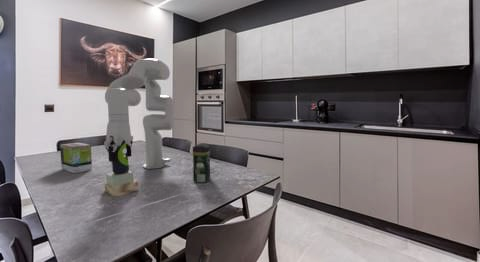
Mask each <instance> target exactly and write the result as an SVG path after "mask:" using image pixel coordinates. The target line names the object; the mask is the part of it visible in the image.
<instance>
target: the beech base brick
mask: <svg viewBox="0 0 480 262" xmlns="http://www.w3.org/2000/svg"><path fill="white" fill-rule="evenodd" d="M103 185H104V190H105V192H106V193H107V194H109V195H110V196H112V197H113V198H116V197H119V196H123V195H127V194H130V193H133V192H136V191H139V182H138V180H137V179H135V178H134V181H132V182H129V183H126V184H122V185H119V186H116V187H113V186H112V185H110V184H109V183H107V181H106V182H104V183H103Z"/></svg>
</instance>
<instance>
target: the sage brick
mask: <svg viewBox="0 0 480 262" xmlns="http://www.w3.org/2000/svg"><path fill="white" fill-rule="evenodd" d="M105 176H106V177H105V178H106V182H107V183H109V184H110V185H112V186H113V187H116V186H119V185H122V184H126V183H129V182H132V181H134V179H135V178H134V172H133V171H131V170H130V169H129V170H128V172H127V173H124V174H114V173H113V171H110V172H107V173H105Z"/></svg>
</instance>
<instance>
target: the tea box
mask: <svg viewBox="0 0 480 262" xmlns="http://www.w3.org/2000/svg"><path fill="white" fill-rule="evenodd" d="M59 148H60V162H61V163H60V165H61V170H63V171H66V172H69V173H72V174H76V173H83V172H87V171H91V170H93V163H92V162H93V161H92V160H93V159H92V145H91V144H89V143H84V142H72V143H61V144H60V145H59Z"/></svg>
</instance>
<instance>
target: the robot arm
mask: <svg viewBox="0 0 480 262" xmlns="http://www.w3.org/2000/svg"><path fill="white" fill-rule="evenodd" d="M170 71H171V70H170V67H169V66H168V65H167V64H166V63H164V62H163V61H162V60H159V59H156V58H140V59H136V61H135V62H134V63H133V65H132V67H131V68H130V70H129V71H128V73H126V74H124V75H122V76H121V77H118V78H116V79H115V80H113V81H112V82H111V83H110V84H109V86H108V88H106V91H105V93H104V100H105V102H106V104H107V111H108V115H107V116H108V122H107V125H106V136H105V141H104V142H103V145H104V148H105V150H106V152H108V161H109V162H111V163H112V162H116V161H117V152H115V151H116V149H117V147H118V146H121V144H122V141H123V140H125V142H126V148H127V156H128V158H129V157H132V147H133V143H134V142H133V140H134V136H133V135H132V134H131V125H130V115H129V107H136V106H138V105H140V103H141V100H142V97H141V96H142V95H141V93H140V92H139V90H136V89H139V88H141V87H143V86H145V108H146V110H147V111H148V112H151V113H149V114H146V115H145V116H143V118H142V126H143V130H144V141H145V143H144V147H145V163H144V164H143V165H142V167H143V168H144V169H145V170H146V169H147V170H154V169H156V170H157V169H161V168H164V167H165V166H166V163H170V162H171V158H164V157H163V137H162V135H161V133H160V132H159V131H171V130H173V129H174V125H175V109H174V108H175V107H174V106H175V105H174V99H173V98H172V96H168V95H162V88H161V86H160V83H158V81H166V80H167V81H168V79H169V78H170V75H171V72H170ZM157 113H158V114H157ZM159 113H162V114H159ZM163 113H164V114H163ZM112 141H114V143H115V144H112ZM112 147H114V148H112Z"/></svg>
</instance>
